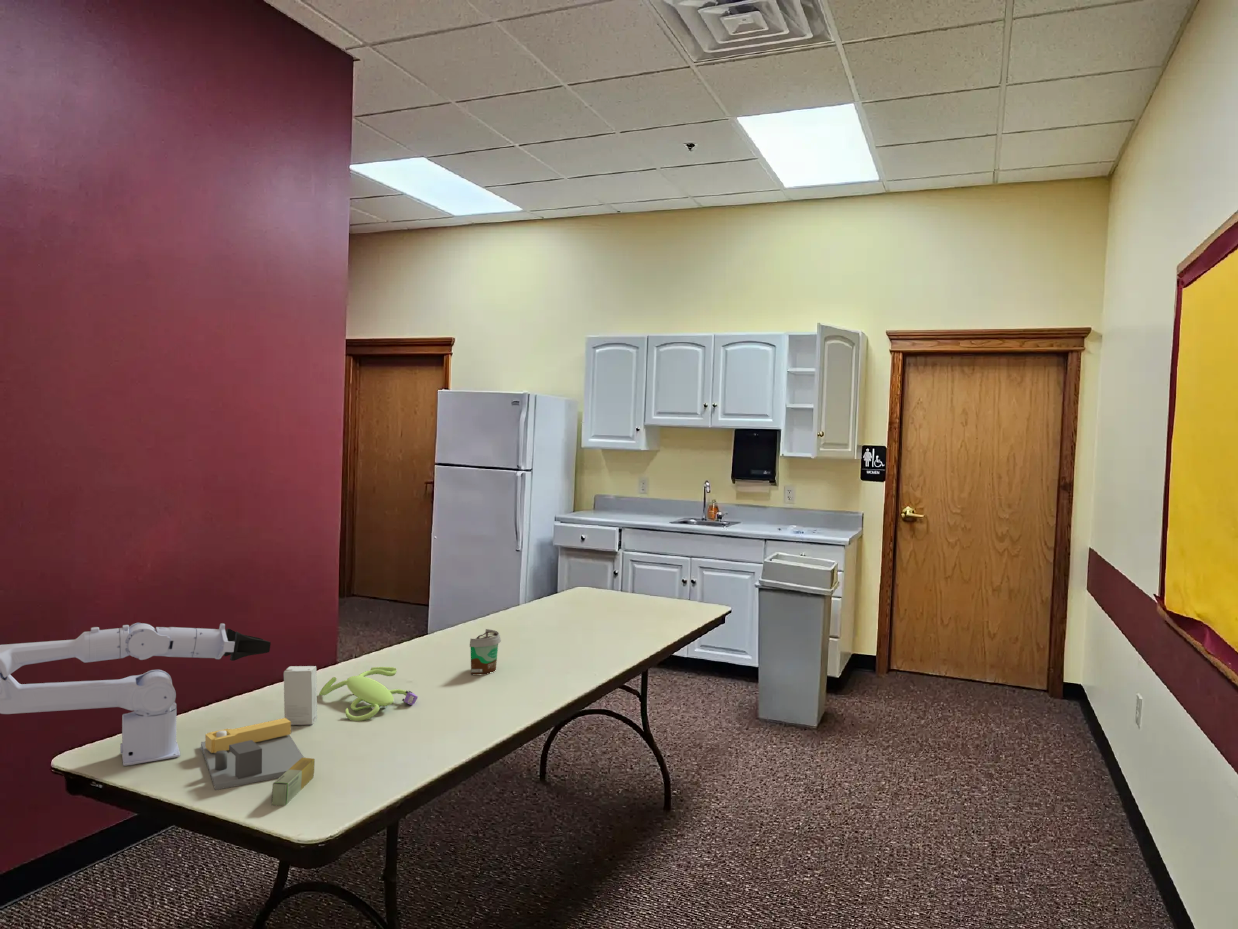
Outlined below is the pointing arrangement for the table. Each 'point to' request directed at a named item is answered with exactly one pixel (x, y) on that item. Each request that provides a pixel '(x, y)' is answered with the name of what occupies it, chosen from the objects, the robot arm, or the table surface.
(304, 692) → the skincare box
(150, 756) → the robot arm
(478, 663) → the food container
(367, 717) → the figurine
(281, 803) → the medication box
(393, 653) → the table surface
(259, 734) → the link
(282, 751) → the base
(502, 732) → the table surface
